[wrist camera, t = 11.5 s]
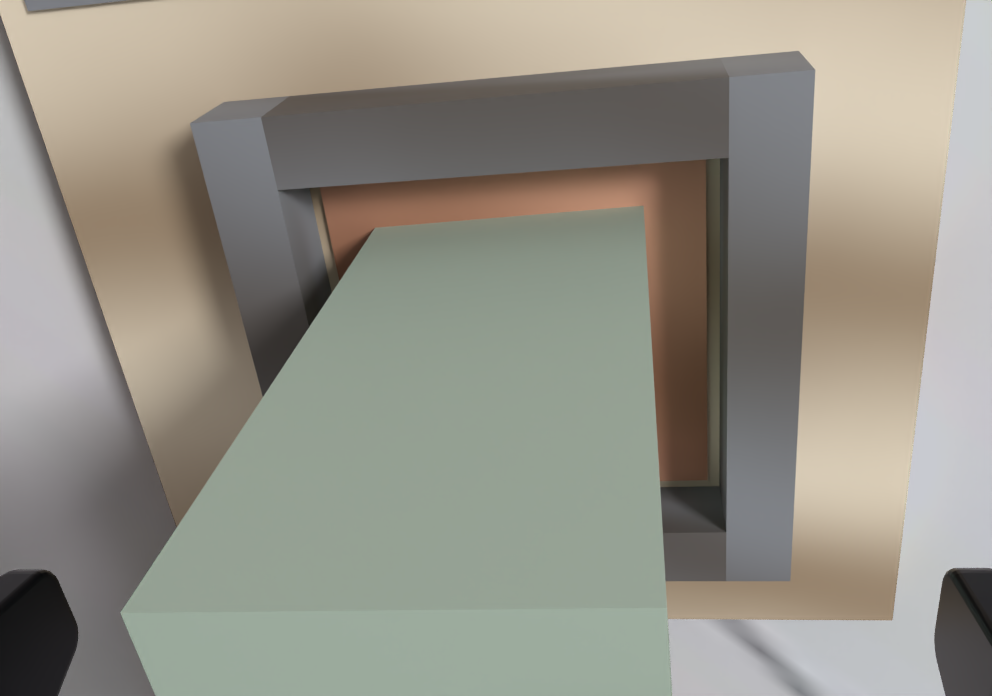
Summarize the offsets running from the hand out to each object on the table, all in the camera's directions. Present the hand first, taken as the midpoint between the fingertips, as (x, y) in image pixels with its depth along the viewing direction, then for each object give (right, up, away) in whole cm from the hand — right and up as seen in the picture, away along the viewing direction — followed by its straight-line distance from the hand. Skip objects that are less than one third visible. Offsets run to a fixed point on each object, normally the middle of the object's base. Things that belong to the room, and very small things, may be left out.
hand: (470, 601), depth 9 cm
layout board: (0, +4, +5) cm, 7 cm away
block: (+1, +3, +5) cm, 6 cm away
